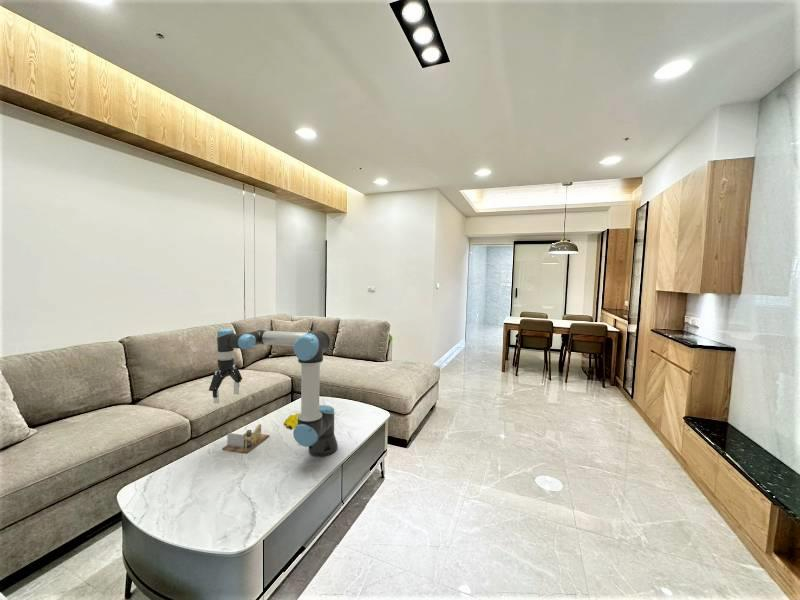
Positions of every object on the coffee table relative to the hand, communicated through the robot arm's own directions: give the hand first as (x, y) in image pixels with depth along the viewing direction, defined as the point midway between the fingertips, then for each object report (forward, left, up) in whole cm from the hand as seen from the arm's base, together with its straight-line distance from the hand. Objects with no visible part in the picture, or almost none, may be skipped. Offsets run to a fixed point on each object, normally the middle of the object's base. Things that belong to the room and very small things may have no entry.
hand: (226, 398), depth 172 cm
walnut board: (-5, -8, -28) cm, 29 cm away
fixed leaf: (-5, -3, -26) cm, 27 cm away
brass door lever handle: (-9, -9, -26) cm, 29 cm away
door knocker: (-19, -39, -28) cm, 51 cm away
